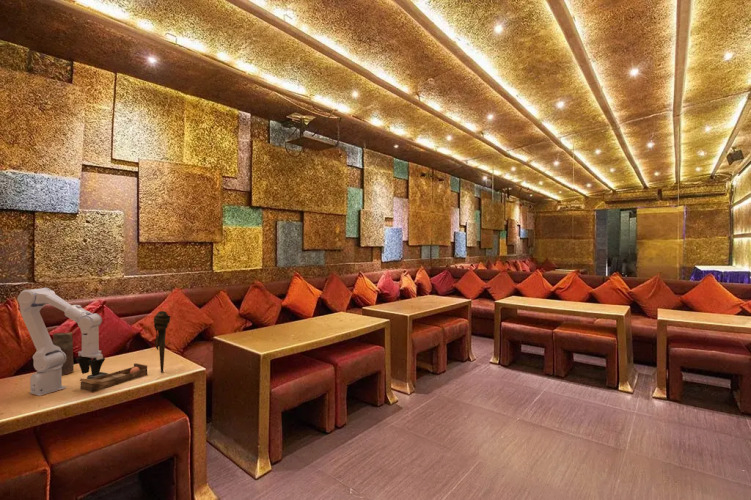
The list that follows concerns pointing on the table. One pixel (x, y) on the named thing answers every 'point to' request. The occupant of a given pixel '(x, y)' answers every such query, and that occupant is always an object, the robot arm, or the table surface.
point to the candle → (65, 350)
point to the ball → (134, 369)
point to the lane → (113, 378)
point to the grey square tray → (97, 375)
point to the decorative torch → (161, 334)
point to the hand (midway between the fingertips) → (90, 374)
